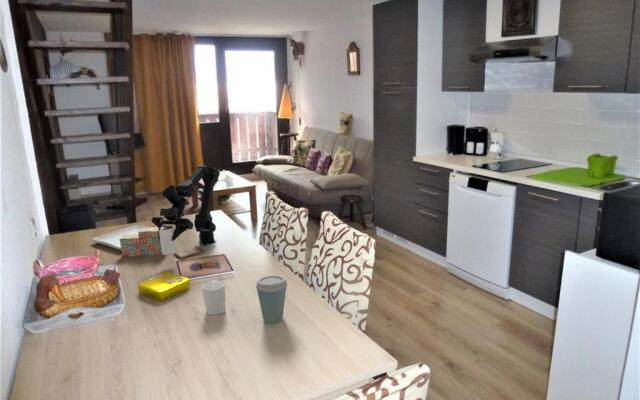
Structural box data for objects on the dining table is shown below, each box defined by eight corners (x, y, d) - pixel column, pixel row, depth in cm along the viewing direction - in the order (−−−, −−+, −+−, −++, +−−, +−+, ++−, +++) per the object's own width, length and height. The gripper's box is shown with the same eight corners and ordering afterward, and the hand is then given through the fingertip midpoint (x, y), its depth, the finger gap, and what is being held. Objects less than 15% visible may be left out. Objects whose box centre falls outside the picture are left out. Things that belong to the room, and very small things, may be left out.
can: (164, 250, 207) (160, 225, 204) (178, 249, 208) (175, 224, 205) (160, 256, 201) (156, 230, 198) (175, 255, 202) (172, 229, 198)
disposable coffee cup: (254, 315, 159) (251, 276, 155) (283, 308, 163) (281, 269, 159) (263, 330, 150) (260, 288, 146) (294, 322, 154) (291, 281, 150)
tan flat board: (196, 248, 227) (196, 245, 226) (204, 252, 221) (204, 249, 221) (174, 254, 219) (173, 252, 219) (181, 259, 213) (181, 256, 213)
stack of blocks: (122, 257, 219) (118, 232, 216) (126, 252, 225) (122, 228, 222) (167, 254, 220) (164, 230, 217) (170, 249, 226) (167, 226, 223)
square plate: (137, 230, 260) (137, 223, 259) (167, 238, 245) (166, 231, 244) (91, 244, 239) (90, 237, 238) (121, 254, 224) (119, 246, 223)
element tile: (169, 280, 192) (167, 269, 191) (192, 288, 183) (191, 277, 182) (137, 294, 180) (135, 282, 179) (160, 303, 172) (158, 291, 171)
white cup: (231, 306, 166) (228, 281, 164) (219, 317, 159) (217, 291, 156) (212, 304, 169) (209, 279, 166) (200, 314, 162) (197, 288, 159)
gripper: (150, 199, 205) (137, 230, 197) (186, 201, 199) (174, 233, 192) (163, 211, 214) (152, 241, 207) (198, 213, 208) (187, 244, 201)
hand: (165, 240), depth 201 cm, fingers closed on can, 6 cm apart
